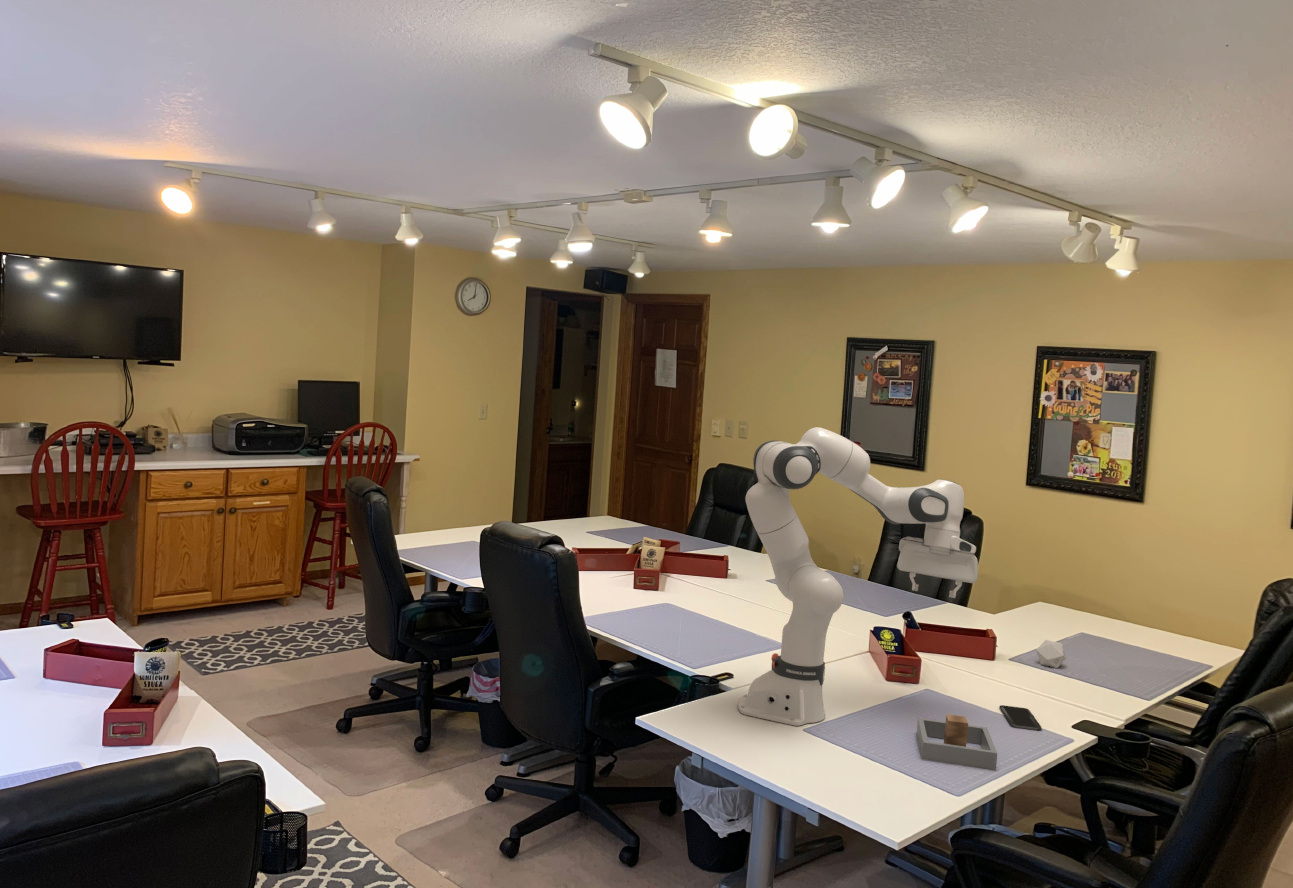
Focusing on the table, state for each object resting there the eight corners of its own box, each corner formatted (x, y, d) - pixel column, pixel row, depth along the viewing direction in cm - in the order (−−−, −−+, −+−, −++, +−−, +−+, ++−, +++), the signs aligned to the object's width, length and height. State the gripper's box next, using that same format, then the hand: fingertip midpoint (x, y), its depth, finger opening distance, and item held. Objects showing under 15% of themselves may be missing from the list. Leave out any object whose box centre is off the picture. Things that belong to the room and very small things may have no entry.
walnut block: (945, 753, 218) (948, 720, 217) (943, 745, 222) (946, 713, 222) (965, 756, 217) (968, 723, 216) (962, 748, 221) (965, 716, 221)
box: (921, 758, 213) (923, 742, 213) (916, 732, 229) (918, 717, 229) (995, 770, 210) (997, 753, 210) (985, 742, 226) (986, 727, 226)
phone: (1011, 724, 238) (998, 704, 253) (1010, 728, 238) (998, 708, 253) (1043, 728, 237) (1028, 708, 251) (1042, 732, 237) (1028, 712, 252)
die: (1048, 672, 291) (1070, 650, 289) (1027, 652, 296) (1048, 631, 295) (1053, 676, 297) (1075, 654, 296) (1033, 656, 302) (1053, 636, 301)
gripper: (901, 534, 240) (893, 586, 239) (982, 548, 235) (975, 601, 234) (899, 535, 247) (892, 586, 245) (979, 549, 241) (972, 601, 240)
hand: (933, 594), depth 239 cm, fingers open, 8 cm apart
